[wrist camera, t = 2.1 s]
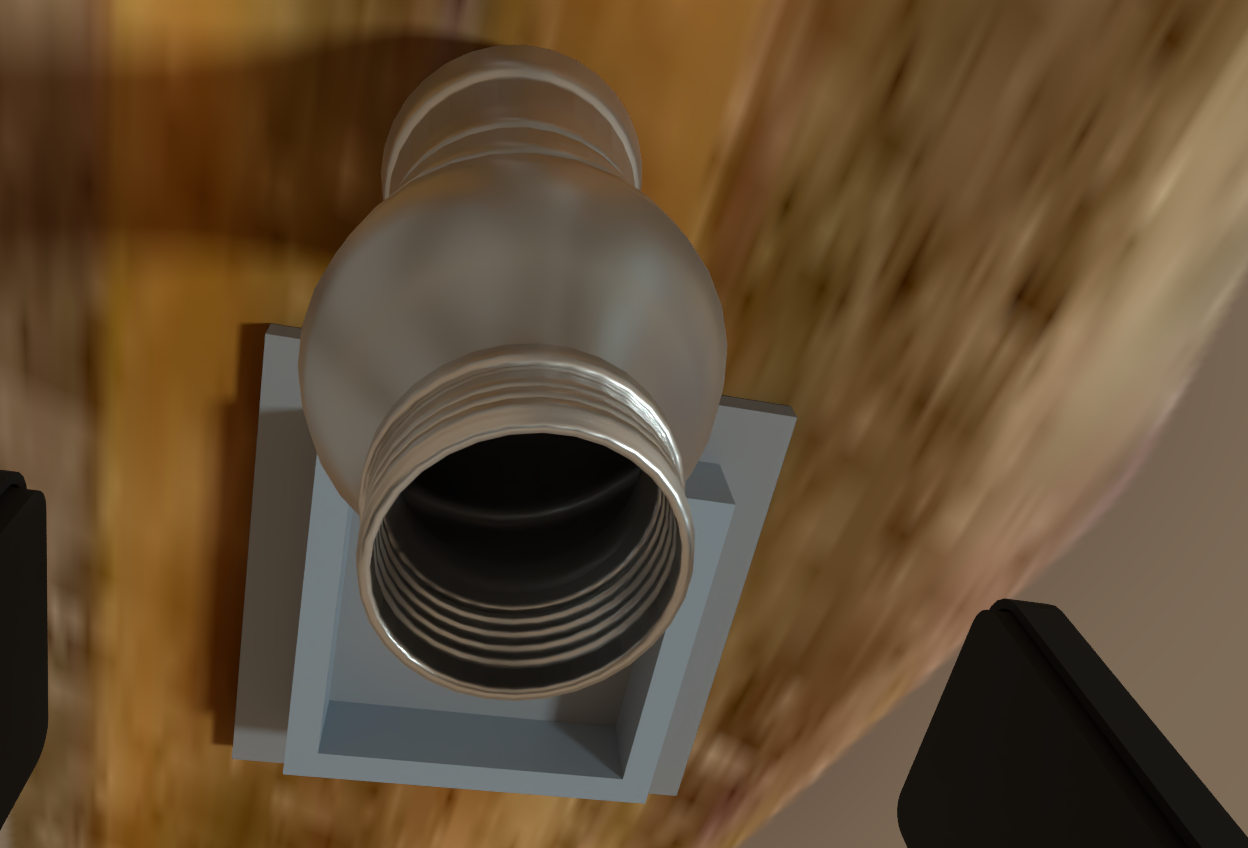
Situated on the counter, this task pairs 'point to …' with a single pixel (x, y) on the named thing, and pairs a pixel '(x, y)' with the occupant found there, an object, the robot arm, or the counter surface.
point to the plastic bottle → (515, 383)
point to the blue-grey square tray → (438, 717)
